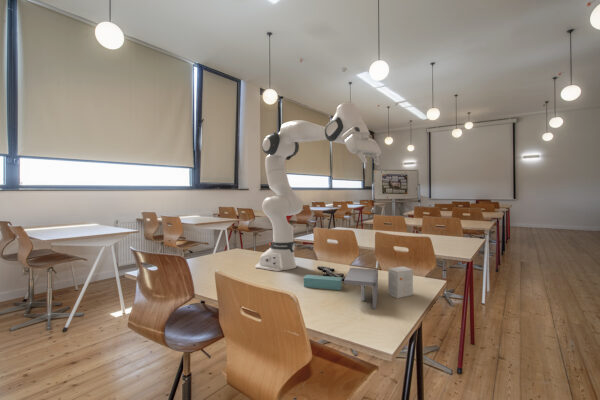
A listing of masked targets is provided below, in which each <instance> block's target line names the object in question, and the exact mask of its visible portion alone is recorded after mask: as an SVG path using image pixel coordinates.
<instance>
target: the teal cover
mask: <svg viewBox="0 0 600 400" xmlns="http://www.w3.org/2000/svg"><path fill="white" fill-rule="evenodd" d="M303 287H304V288H311V289H323V290H335V291H341V290H342V287H343V281H342V277H330V276H323V275H317V274H306V275H304V277H303Z"/></svg>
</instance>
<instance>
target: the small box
mask: <svg viewBox="0 0 600 400" xmlns="http://www.w3.org/2000/svg"><path fill="white" fill-rule="evenodd" d="M387 271H388V277H387V279H388V284H387V285H388V286H387V287H388V288H387V289H388V290H387V292H388V294H389V295H390V296H392V297H395V298H396V299H400V298H406V297H409V296H413V295H414V287H413V286H414V285H413V284H414V282H413V281H414V269H412V268H409V267H406V266H404V265H403V266H397V267H396V266H395V267H390V268H388V269H387Z"/></svg>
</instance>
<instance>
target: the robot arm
mask: <svg viewBox="0 0 600 400" xmlns="http://www.w3.org/2000/svg"><path fill="white" fill-rule="evenodd" d="M370 135H371V132H370V131H369V128H368V127H367V124H366V122H364V121H363V116H362V114H361V113H360V111H359V109H358V107H357V105H355V103H353V102H350V101H347V102H343V103H340V104H339V105H338V106H337V107H336V111H335V113H334V116H333V117H332V119H331V120H330V121H329V122H328V123H326V126H323V125H320V124H316V123H313V122H310V121H307V120H303V119H302V120H301V119H299V120H297V119H296V120H295V119H294V120H290V121H286V122H284V123H282V124H281V126H280V129H279V132H276V131H274V132H272V133H271V134H268V135H266V136H265V137H264V138H263V139H262V142H261V148H262V149H261V150H262V151H263V153H264V154H265V155H266V156H265V159H264V164H265V167H264V168H265V174H266V175H265V176H266V179H267V184H268V187H269V189H270V190H271V191H272V192H273V193H275V194H276V195H273V196H269V197H266V198H265V199H263V201H262V204H261V209H262V212H263V214H264V215H265V216H267V218H268V219H269V220H270V223H271V226H272V238H273V239H272V241H270V242H269V244H268V246H270V247H269V248H268V249H267V250H265V251H264V252H263V253H262V254H260V256H259V262H258V263H256V264H255V266H254V267H255V268H256V269H261V270H268V271H274V272H275V271H276V272H281V271H287V270H294V269H296V268H297V263H296V258H295V241H294V226H293V225H292V224H291V223H289V221H288V219H287V216H295V215H298V214H300V213H301V212H302V211H303V207H304V203H303V200H302V199H301V198H300V197H299V196H298V195H297V194H296V193H295V191H294V190H293V189H292V186H291V185H290V182H289V179H288V175H287V171H286V167H285V161H286V160H287V161H289V160H291V159H292V158H293V157H294V156H296V155H297V154H298V152H299V150H300V144H299V143H307V142H317V141H328V142H332V143H337V144H343V145H345V146H346V148H347V150H348V151H349V153H351V154H354V155H356V156H357V157H358V158H359V159H360V161H361V163H363V164H366V163H368V158H367V157H372V159H373V161H372V162H373V163H374V165H376V166H378V165H379V164H380V163H381V162H380V159H379V156H380V155H381V154H382V150H381V147H380V146H379V145H378V143H377V141H376V140H375V139H373V138H371V137H370Z"/></svg>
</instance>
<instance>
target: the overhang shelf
mask: <svg viewBox="0 0 600 400" xmlns="http://www.w3.org/2000/svg"><path fill="white" fill-rule="evenodd" d="M344 277H345V279H344V282H343V283H344V285H349V286H350V285H351V286H360V301H361V302H364V301H365V298H366V287H372V309H373V310H376V309H377V304H378V303H377V302H378V295H379V294H378V293H379V292H378V291H379V289H378V288H379V270H378V269H377V268H362V267H361V268H360V267H350V268H349V270H348V271H347V274H346V276H344Z"/></svg>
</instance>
